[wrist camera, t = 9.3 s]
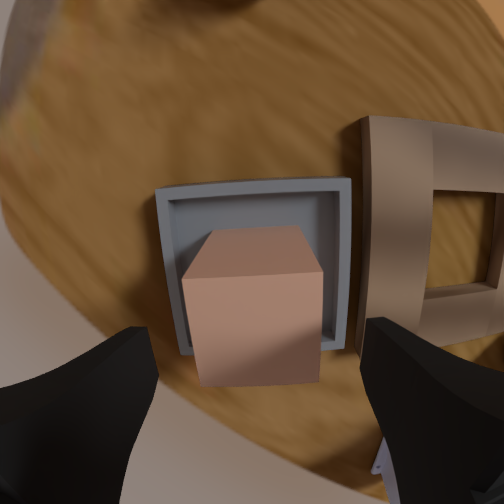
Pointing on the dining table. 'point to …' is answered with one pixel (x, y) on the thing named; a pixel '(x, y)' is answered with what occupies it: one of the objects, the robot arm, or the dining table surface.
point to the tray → (260, 215)
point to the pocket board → (425, 227)
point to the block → (255, 308)
